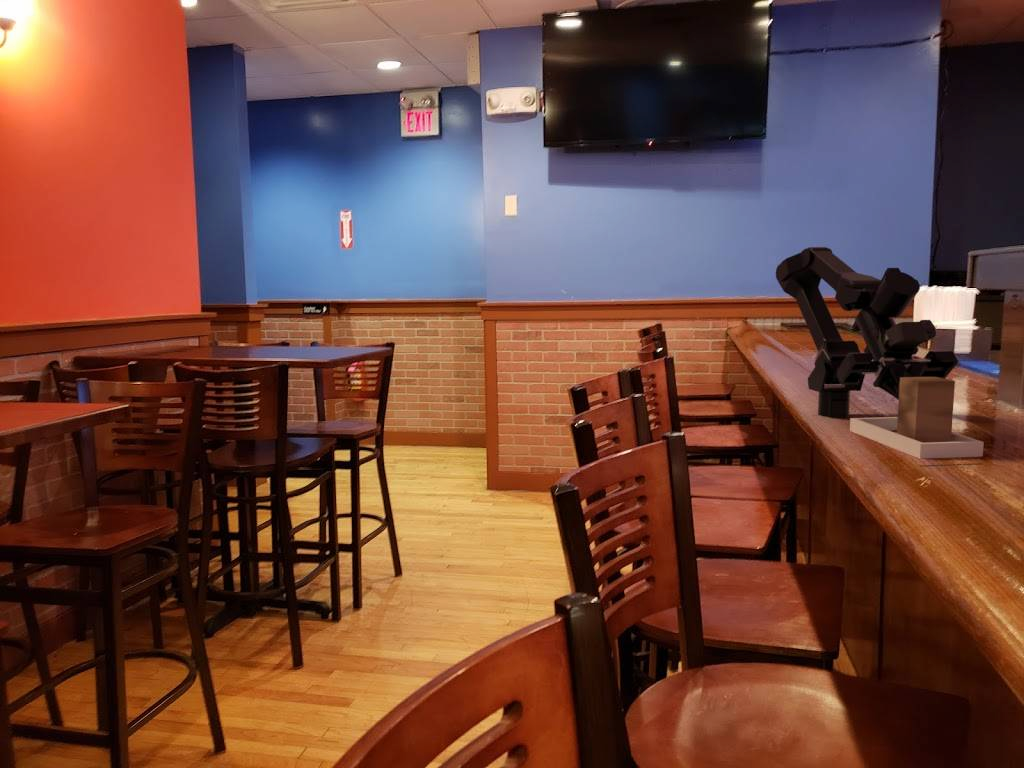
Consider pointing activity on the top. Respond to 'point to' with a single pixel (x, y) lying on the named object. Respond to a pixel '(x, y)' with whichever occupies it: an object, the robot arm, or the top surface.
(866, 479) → the top surface
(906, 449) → the box
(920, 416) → the walnut block
